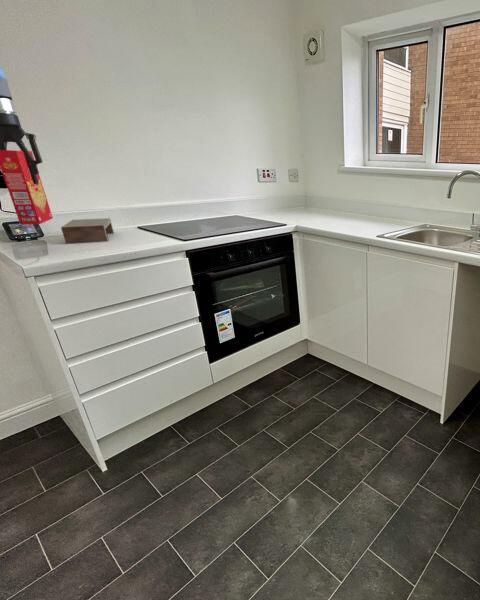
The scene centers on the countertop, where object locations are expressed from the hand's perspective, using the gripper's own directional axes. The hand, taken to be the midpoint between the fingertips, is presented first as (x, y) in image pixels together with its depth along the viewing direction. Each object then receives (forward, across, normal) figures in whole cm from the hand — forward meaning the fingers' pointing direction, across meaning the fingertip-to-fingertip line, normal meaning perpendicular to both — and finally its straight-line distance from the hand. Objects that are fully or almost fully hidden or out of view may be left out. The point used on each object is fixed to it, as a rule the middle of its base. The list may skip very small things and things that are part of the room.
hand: (24, 183), depth 129 cm
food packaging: (+14, 0, 0) cm, 14 cm away
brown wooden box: (+25, -10, -23) cm, 36 cm away
